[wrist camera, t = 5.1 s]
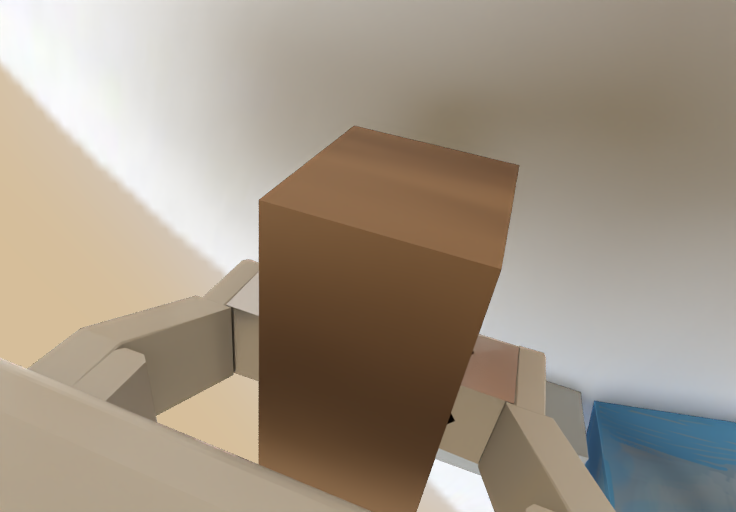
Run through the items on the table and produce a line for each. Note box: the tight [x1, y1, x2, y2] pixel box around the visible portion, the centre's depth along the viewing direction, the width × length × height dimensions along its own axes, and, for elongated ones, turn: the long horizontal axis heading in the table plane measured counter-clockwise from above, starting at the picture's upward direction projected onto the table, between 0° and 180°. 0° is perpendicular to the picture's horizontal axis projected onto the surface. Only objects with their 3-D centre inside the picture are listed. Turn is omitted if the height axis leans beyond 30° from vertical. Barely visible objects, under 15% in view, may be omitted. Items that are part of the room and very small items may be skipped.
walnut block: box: [259, 126, 519, 512], centre depth 10 cm, size 7×4×4 cm, turn 172°
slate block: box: [435, 381, 589, 475], centre depth 23 cm, size 7×4×4 cm, turn 80°
